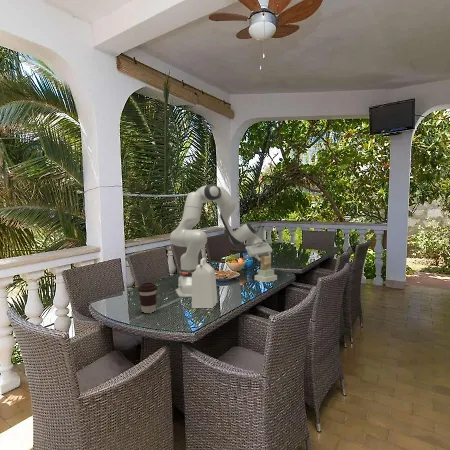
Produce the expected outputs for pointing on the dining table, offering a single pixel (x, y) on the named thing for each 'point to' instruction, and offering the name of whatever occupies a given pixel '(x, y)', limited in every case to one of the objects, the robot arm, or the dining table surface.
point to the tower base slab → (265, 278)
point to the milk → (204, 286)
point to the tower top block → (265, 272)
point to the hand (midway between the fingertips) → (265, 259)
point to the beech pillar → (265, 262)
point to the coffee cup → (147, 297)
